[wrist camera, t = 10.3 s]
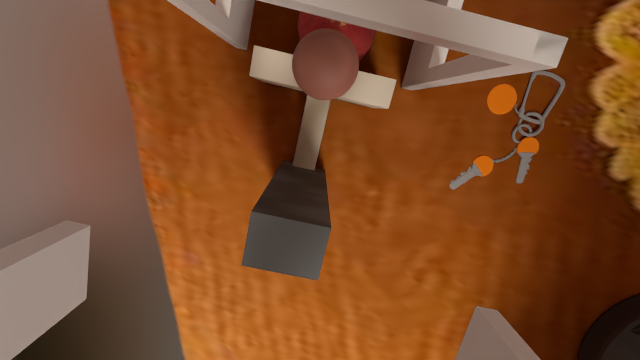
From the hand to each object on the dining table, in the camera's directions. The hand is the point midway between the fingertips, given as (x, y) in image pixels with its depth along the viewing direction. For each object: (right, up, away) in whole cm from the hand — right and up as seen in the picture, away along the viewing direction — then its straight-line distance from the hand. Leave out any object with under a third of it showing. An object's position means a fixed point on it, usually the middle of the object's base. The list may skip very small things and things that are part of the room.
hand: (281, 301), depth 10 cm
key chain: (+19, +8, +19) cm, 28 cm away
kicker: (0, +8, +18) cm, 19 cm away
